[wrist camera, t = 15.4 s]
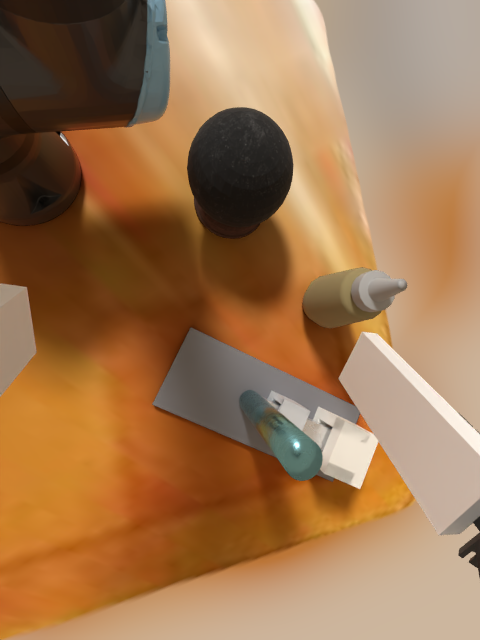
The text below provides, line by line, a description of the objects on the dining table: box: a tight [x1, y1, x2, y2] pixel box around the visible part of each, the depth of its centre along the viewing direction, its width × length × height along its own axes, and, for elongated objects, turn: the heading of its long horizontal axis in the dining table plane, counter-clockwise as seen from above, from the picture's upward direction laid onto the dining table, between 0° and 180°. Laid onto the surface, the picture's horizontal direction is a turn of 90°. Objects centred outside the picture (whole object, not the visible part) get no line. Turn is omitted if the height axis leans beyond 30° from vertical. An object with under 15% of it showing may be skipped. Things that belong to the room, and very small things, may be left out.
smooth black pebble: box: [187, 108, 293, 239], centre depth 36 cm, size 13×13×15 cm
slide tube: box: [239, 390, 332, 481], centre depth 32 cm, size 16×3×20 cm, turn 65°
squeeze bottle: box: [302, 267, 407, 328], centre depth 37 cm, size 8×8×18 cm
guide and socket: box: [152, 328, 378, 489], centre depth 39 cm, size 30×12×8 cm, turn 65°
